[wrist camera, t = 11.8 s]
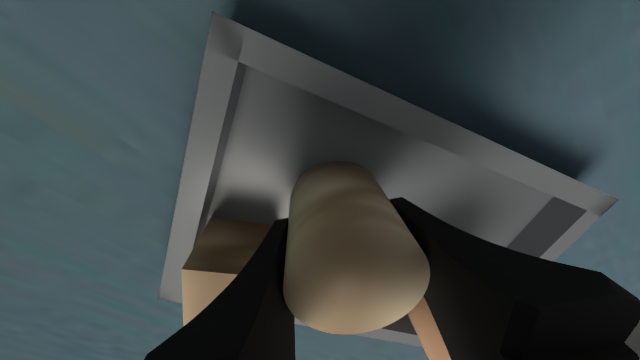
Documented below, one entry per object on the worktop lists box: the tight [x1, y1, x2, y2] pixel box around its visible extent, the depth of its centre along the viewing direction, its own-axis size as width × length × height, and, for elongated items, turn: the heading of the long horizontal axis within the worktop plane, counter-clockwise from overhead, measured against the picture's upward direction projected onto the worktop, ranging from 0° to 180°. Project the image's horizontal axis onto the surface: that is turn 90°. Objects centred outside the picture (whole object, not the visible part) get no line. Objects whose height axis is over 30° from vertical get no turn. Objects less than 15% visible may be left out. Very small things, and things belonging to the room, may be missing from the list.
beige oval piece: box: [283, 161, 430, 334], centre depth 11 cm, size 5×5×6 cm
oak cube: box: [181, 217, 272, 326], centre depth 14 cm, size 4×4×4 cm
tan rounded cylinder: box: [407, 296, 451, 360], centre depth 14 cm, size 5×5×6 cm
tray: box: [158, 11, 618, 347], centre depth 15 cm, size 22×15×2 cm
